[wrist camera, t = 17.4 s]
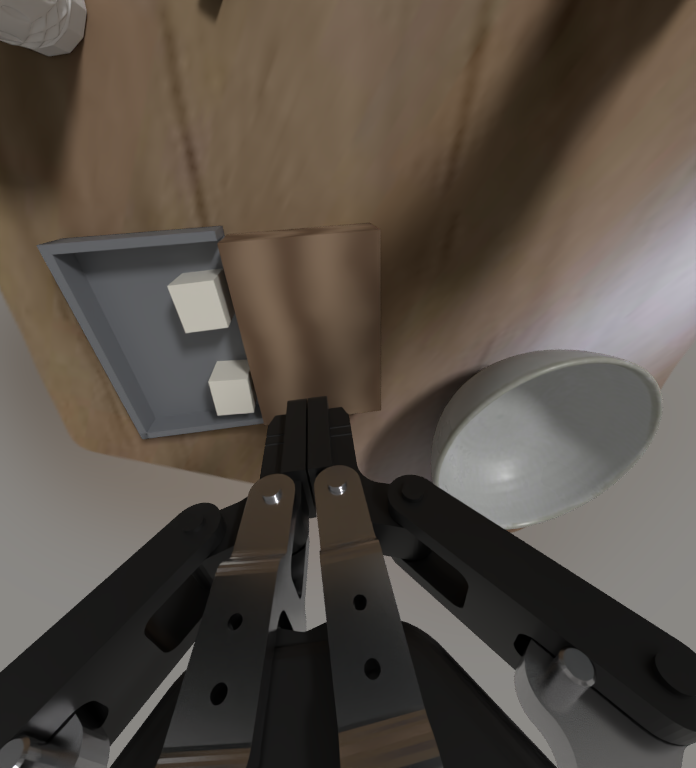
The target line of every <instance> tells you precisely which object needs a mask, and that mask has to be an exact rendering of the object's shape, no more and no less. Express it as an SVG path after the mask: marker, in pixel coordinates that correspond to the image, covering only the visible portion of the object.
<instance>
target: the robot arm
mask: <svg viewBox="0 0 696 768" xmlns="http://www.w3.org/2000/svg"><path fill="white" fill-rule="evenodd" d="M265 445H266V446H265V449H264V456H263V462H262V468H261V475H260V480H258V481H257V482H256V483H255V484H254V485H253V486H252V488H251V489H250V491H249V494H248V497H246V498H245V499H243V500H242V501H240V502H238V503H236V504H233V505H231V506H228V507H226V508H224V509H221V510H219V509H218V508H217V507H216V506H215V505H213V504H211V503H199V504H196V505H193V506H191V507H189V508H187V509H185V510H184V511H182V513H180V514H179V515H178V516H177V517H175V518H174V519H173V520H172V521H171V522H170V523H169V524H168V525H166V526H165V527H164V528H163V529H162V530H161V531H160V532H158V533H157V534H156V535H155V536H154V537H153V538H152V539H151V540H149V541H148V542H147V543H146V544H145V545H144V546H143V547H142V548H140V549H139V550H138V551H137V552H136V553H135V554H134V555H132V556H131V557H130V558H129V559H128V560H127V561H126V562H125V563H123V564H122V565H121V566H120V567H119V568H118V569H117V570H115V571H114V572H113V573H112V574H111V575H110V576H109V577H108V578H107V579H105V580H104V581H103V582H102V583H101V584H100V585H98V586H97V587H96V588H95V589H94V590H93V591H92V592H91V593H89V594H88V595H87V596H86V597H85V598H84V599H83V600H82V601H80V602H79V603H78V604H77V605H76V606H75V607H74V608H73V609H71V610H70V611H69V612H68V613H67V614H66V615H65V616H63V617H62V618H61V619H60V620H59V621H58V622H57V623H56V624H55V625H53V626H52V627H51V628H50V629H49V630H48V631H47V632H45V633H44V634H43V635H42V636H41V637H40V638H39V639H38V640H36V641H35V642H34V643H33V644H32V645H31V646H30V647H28V648H27V649H26V650H25V651H24V652H23V653H22V654H21V655H19V656H18V657H17V658H16V659H15V660H14V661H13V662H12V663H10V664H9V665H8V666H7V667H6V668H5V669H4V670H2V671H1V672H0V768H107V763H108V759H109V752H110V746H111V744H112V743H113V742H114V741H115V740H116V738H117V737H118V736H119V734H120V733H121V732H122V731H123V729H124V728H125V727H126V726H127V725H128V723H129V722H130V721H131V719H133V717H134V716H135V715H136V714H137V712H138V711H139V710H140V709H141V707H142V706H143V705H144V703H145V702H146V701H147V700H148V699H149V698H150V696H151V695H152V694H153V693H154V691H155V690H156V689H157V688H158V686H159V685H160V684H161V683H162V682H163V680H164V679H165V678H166V677H167V675H168V674H169V673H170V672H171V670H172V669H173V668H174V667H175V665H176V664H177V663H178V662H179V661H180V659H181V658H182V657H183V656H184V654H185V653H186V652H187V651H188V649H189V648H190V647H191V646H192V645H193V643H194V642H195V643H194V647H193V650H192V653H191V657H190V660H189V663H188V666H187V670H185V671H184V672H183V673H182V675H181V676H180V677H179V678H178V679H177V680H176V681H175V682H174V684H173V685H172V686H171V687H170V688H169V690H168V691H167V692H166V694H165V695H164V696H163V698H162V699H161V700H160V702H159V703H158V704H157V706H156V707H155V708H154V710H153V711H152V712H151V714H150V715H149V716H148V718H147V719H146V720H145V722H144V723H143V724H142V726H141V727H140V728H139V730H138V731H137V732H136V734H135V735H134V736H133V737H132V739H131V740H130V741H129V743H128V744H127V745H126V747H125V748H124V749H123V751H122V752H121V753H120V755H119V756H118V757H117V759H116V760H115V761H114V763H113V764H112V765H111V767H110V768H557V767H556V766H555V765H554V764H553V763H552V762H551V761H550V760H549V759H548V758H547V757H546V756H545V755H544V754H543V753H542V751H541V750H540V749H538V747H537V746H536V745H535V744H534V743H533V742H532V741H531V740H530V739H529V738H528V737H527V736H526V735H525V734H524V732H522V730H520V728H519V727H518V726H517V725H516V724H515V723H514V722H513V721H512V720H511V719H510V718H509V717H508V716H507V715H506V714H505V713H504V712H503V710H502V709H501V708H500V707H499V706H498V705H497V704H496V703H495V702H494V701H493V700H492V699H491V698H490V697H489V696H488V695H487V693H486V692H485V691H484V690H483V689H482V688H481V687H480V686H479V685H478V684H477V683H476V682H475V681H474V680H473V679H472V678H471V677H470V676H469V675H468V673H467V672H466V671H464V669H463V668H462V667H461V666H460V665H459V664H458V663H457V662H456V661H455V660H454V659H453V658H452V657H451V656H450V655H449V653H447V652H446V650H445V649H444V648H443V647H442V646H441V645H440V644H439V643H438V642H437V641H436V640H434V639H433V638H432V637H431V636H429V635H428V634H427V633H425V632H424V631H422V630H421V629H419V628H417V627H415V626H413V625H411V624H409V623H407V622H403V621H401V619H400V615H399V612H398V608H397V605H396V601H395V597H394V593H393V590H392V586H391V582H390V579H389V575H388V571H387V568H386V564H385V560H384V557H383V555H386V556H391V557H392V559H393V560H394V561H395V562H396V564H398V565H399V566H400V567H401V568H402V569H403V570H404V571H405V572H407V573H408V574H409V575H410V576H411V577H412V578H413V579H414V580H415V581H416V582H418V583H419V584H420V585H421V586H422V587H423V588H424V589H426V590H427V591H428V592H429V593H430V594H431V595H432V596H433V597H434V598H435V599H437V600H438V601H439V602H440V603H441V604H442V605H443V606H444V607H446V608H447V609H448V610H449V611H450V612H451V613H452V614H453V615H455V616H456V617H457V618H458V619H459V620H460V621H461V622H462V623H463V624H465V625H466V626H467V627H468V628H469V629H470V630H471V631H472V632H473V633H474V634H476V635H477V636H478V637H479V638H480V639H481V640H482V641H483V642H485V643H486V644H487V645H488V646H489V647H490V648H491V649H492V650H493V651H495V652H496V653H497V654H498V655H499V656H500V657H501V658H502V659H503V660H505V661H506V662H507V663H508V664H509V665H510V666H511V667H512V668H514V669H515V676H514V683H515V690H516V693H517V697H518V699H519V702H520V704H521V706H522V708H523V710H524V712H525V713H526V715H527V716H528V718H529V719H530V720H531V721H532V723H533V724H534V725H535V726H536V727H537V729H538V730H539V731H540V732H541V733H542V735H543V736H544V738H545V739H546V741H547V743H548V744H549V746H550V748H551V750H552V752H553V755H554V757H555V759H556V762H557V766H558V768H681V766H682V758H683V753H684V750H685V748H686V747H687V746H688V745H690V744H693V743H695V742H696V653H695V652H693V651H692V650H691V649H690V648H689V647H687V646H686V645H684V644H683V643H682V642H680V641H679V640H677V639H676V638H674V637H672V636H671V635H669V634H668V633H666V632H664V631H663V630H662V629H660V628H658V627H657V626H655V625H654V624H652V623H651V622H649V621H647V620H646V619H644V618H643V617H641V616H640V615H638V614H636V613H635V612H633V611H632V610H630V609H628V608H627V607H626V606H624V605H622V604H621V603H619V602H617V601H616V600H615V599H613V598H611V597H610V596H608V595H607V594H605V593H604V592H602V591H600V590H599V589H597V588H596V587H594V586H593V585H591V584H589V583H588V582H586V581H585V580H583V579H582V578H580V577H579V576H577V575H575V574H574V573H572V572H571V571H569V570H568V569H566V568H564V567H563V566H561V565H560V564H558V563H557V562H555V561H553V560H552V559H550V558H549V557H547V556H546V555H544V554H543V553H541V552H539V551H538V550H536V549H535V548H533V547H532V546H530V545H528V544H527V543H525V542H524V541H522V540H521V539H519V538H518V537H516V536H514V535H513V534H511V533H510V532H508V531H507V530H505V529H503V528H502V527H500V526H499V525H497V524H496V523H494V522H492V521H491V520H489V519H488V518H486V517H485V516H483V515H482V514H480V513H478V512H477V511H475V510H474V509H472V508H471V507H469V506H467V505H466V504H464V503H463V502H461V501H460V500H458V499H456V498H455V497H453V496H452V495H450V494H449V493H447V492H446V491H444V490H442V489H441V488H439V487H438V486H436V485H435V484H433V483H431V482H430V481H428V480H427V479H425V478H423V477H420V476H416V475H404V476H401V477H398V478H397V479H395V480H394V481H393V482H392V483H391V484H385V483H378V482H374V481H371V480H369V479H367V478H366V477H364V476H363V475H362V474H361V472H360V471H359V469H358V467H357V462H356V456H355V450H354V444H353V438H352V432H351V426H350V420H349V414H348V413H347V412H346V411H345V410H344V409H343V408H342V407H336V408H329V406H328V400H327V396H320V397H312V398H308V400H307V398H305V399H297V400H289V401H287V410H286V414H284V415H276V416H275V417H274V418H273V420H272V421H271V422H270V424H269V425H268V431H267V438H266V443H265ZM316 510H317V515H316ZM316 516H317V519H318V528H319V537H320V546H321V551H320V563H321V574H322V582H323V593H324V602H325V611H326V620H327V622H326V623H324V624H321V625H319V626H317V627H315V628H313V629H311V630H309V631H306V614H305V595H306V581H307V568H308V554H309V536H308V535H309V518H314V517H316Z"/></svg>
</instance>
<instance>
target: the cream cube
mask: <svg viewBox="0 0 696 768" xmlns="http://www.w3.org/2000/svg"><path fill="white" fill-rule="evenodd" d="M167 287H168V290H169V292H170V295H171V297H172V300H173V302H174V305H175V307H176V310H177V312H178V315H179V317H180V320H181V322H182V325H183V328H184V330H185V333H191V332H198V331H206V330H213V329H221V328H228V327H229V325H230V322H231V320H232V318H233V316H234V313H235V310H234V306H233V303H232V299H231V295H230V291H229V287H228V284H227V280H226V277H225V274H224V270H223V268H221V269H213V270H205V271H197V272H188V273H182V274H181V275H179V276H178V277H177V278H176V279H175V280H174V281H172V282H171V283H170V284H169V285H168V286H167Z"/></svg>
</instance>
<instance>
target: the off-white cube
mask: <svg viewBox="0 0 696 768" xmlns="http://www.w3.org/2000/svg"><path fill="white" fill-rule="evenodd" d="M208 383H209V386H210V390H211V394H212V397H213V401H214V405H215V408H216V412H217V415H218V416H219V415H231V414H243V413H254V410H255V404H256V399H257V395H256V391H255V387H254V383H253V379H252V376H251V372H250V368H249V364H248V360H247V359H246V360H229V361H217V362H216V365H215V367H214V369H213V372H212V374H211V376H210V379H209V381H208Z"/></svg>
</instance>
